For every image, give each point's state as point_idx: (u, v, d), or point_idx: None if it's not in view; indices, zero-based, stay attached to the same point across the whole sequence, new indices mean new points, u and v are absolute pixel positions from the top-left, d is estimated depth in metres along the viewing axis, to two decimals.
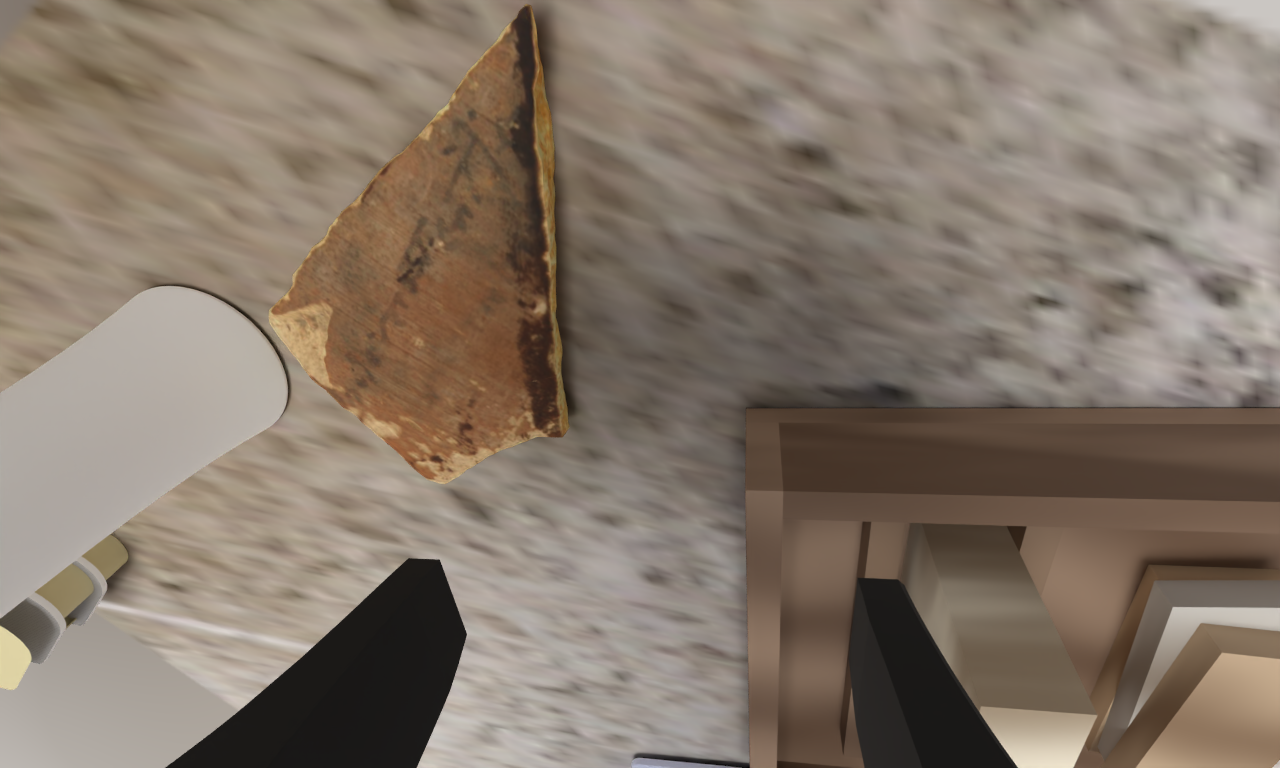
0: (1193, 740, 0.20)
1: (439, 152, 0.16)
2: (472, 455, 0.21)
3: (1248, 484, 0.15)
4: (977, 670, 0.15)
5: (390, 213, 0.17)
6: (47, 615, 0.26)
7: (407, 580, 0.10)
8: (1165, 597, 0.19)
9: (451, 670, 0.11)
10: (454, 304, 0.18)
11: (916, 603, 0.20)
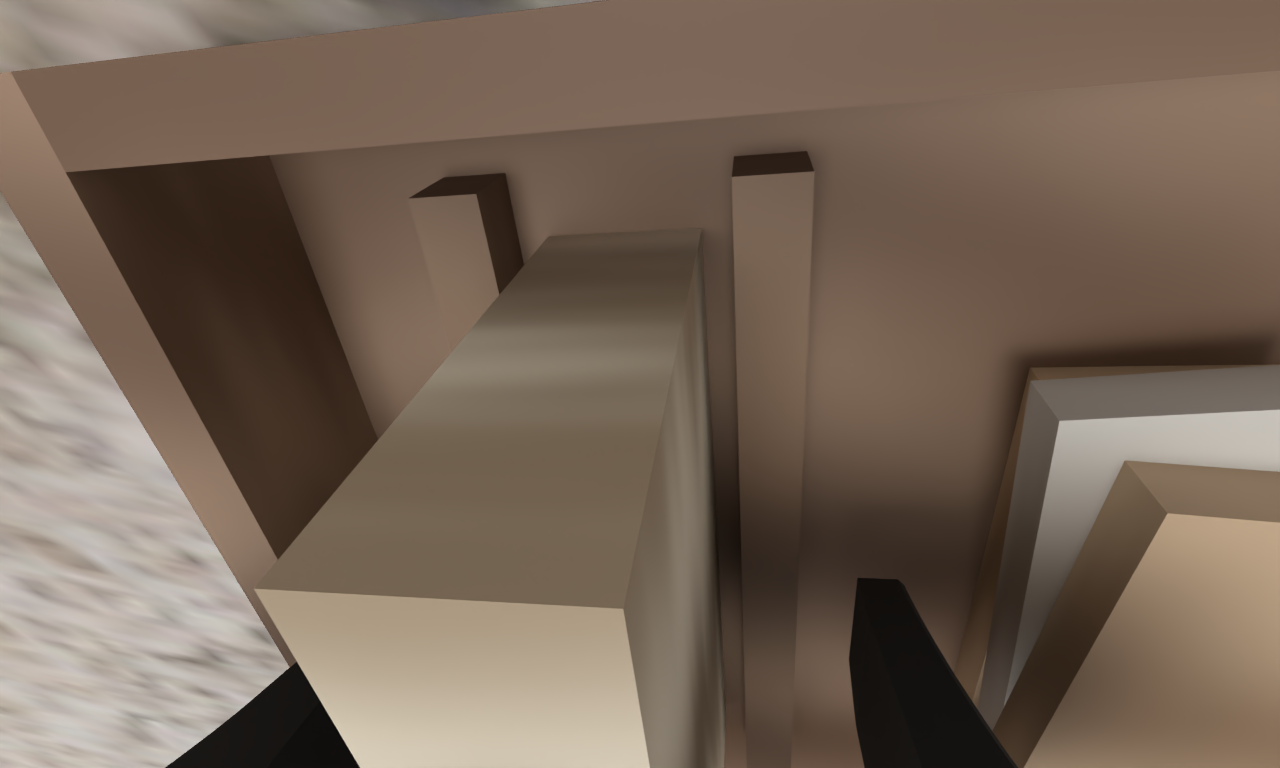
0: (1120, 729, 0.09)
1: None
2: None
3: None
4: (354, 494, 0.05)
5: None
6: None
7: None
8: (1048, 409, 0.09)
9: None
10: None
11: None
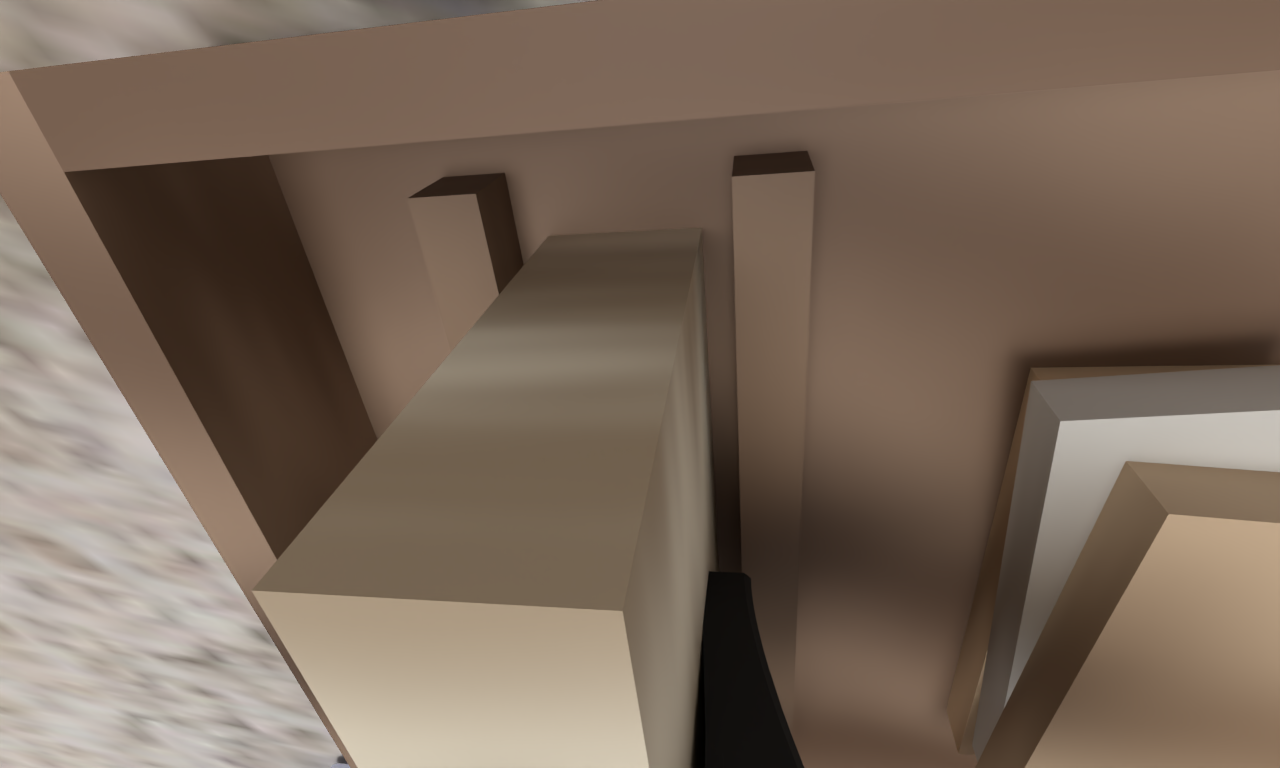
0: (1121, 729, 0.09)
1: None
2: None
3: None
4: (353, 494, 0.05)
5: None
6: None
7: None
8: (1049, 409, 0.09)
9: None
10: None
11: None
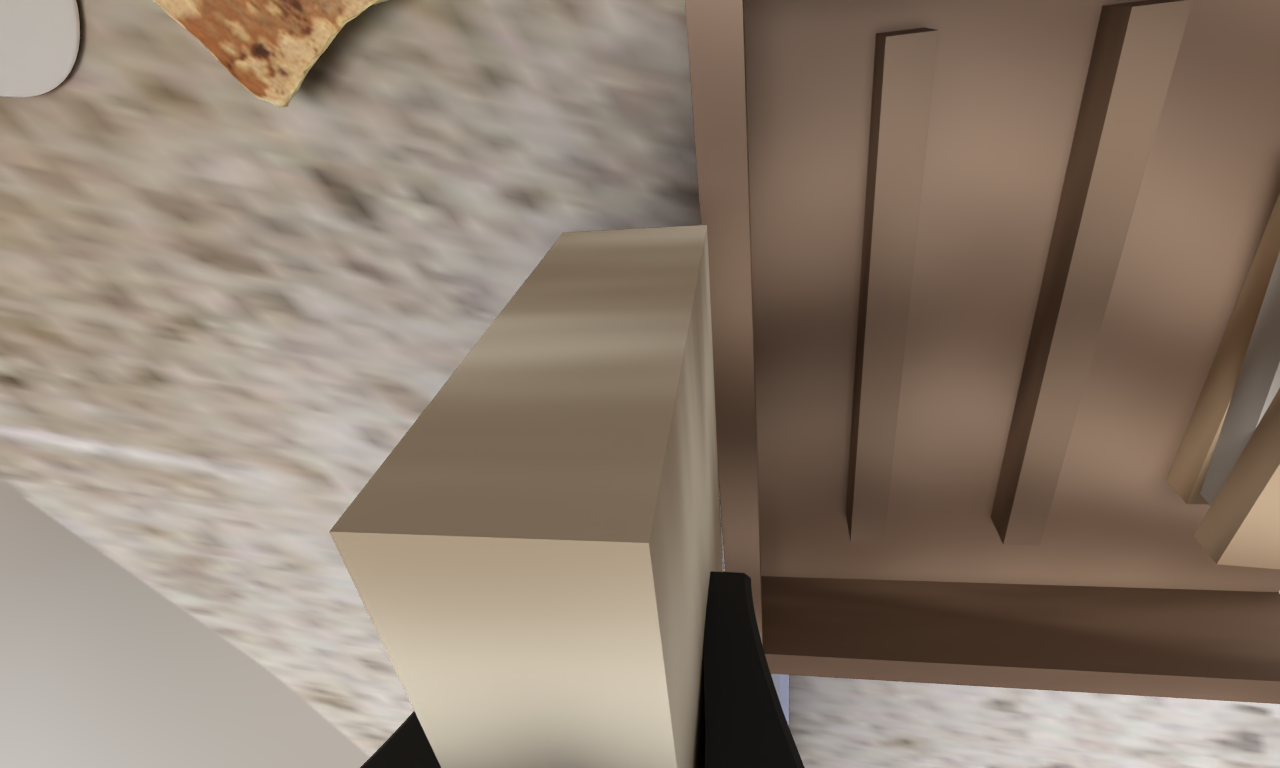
0: None
1: None
2: (307, 36, 0.15)
3: None
4: (406, 456, 0.05)
5: None
6: None
7: None
8: None
9: None
10: None
11: None
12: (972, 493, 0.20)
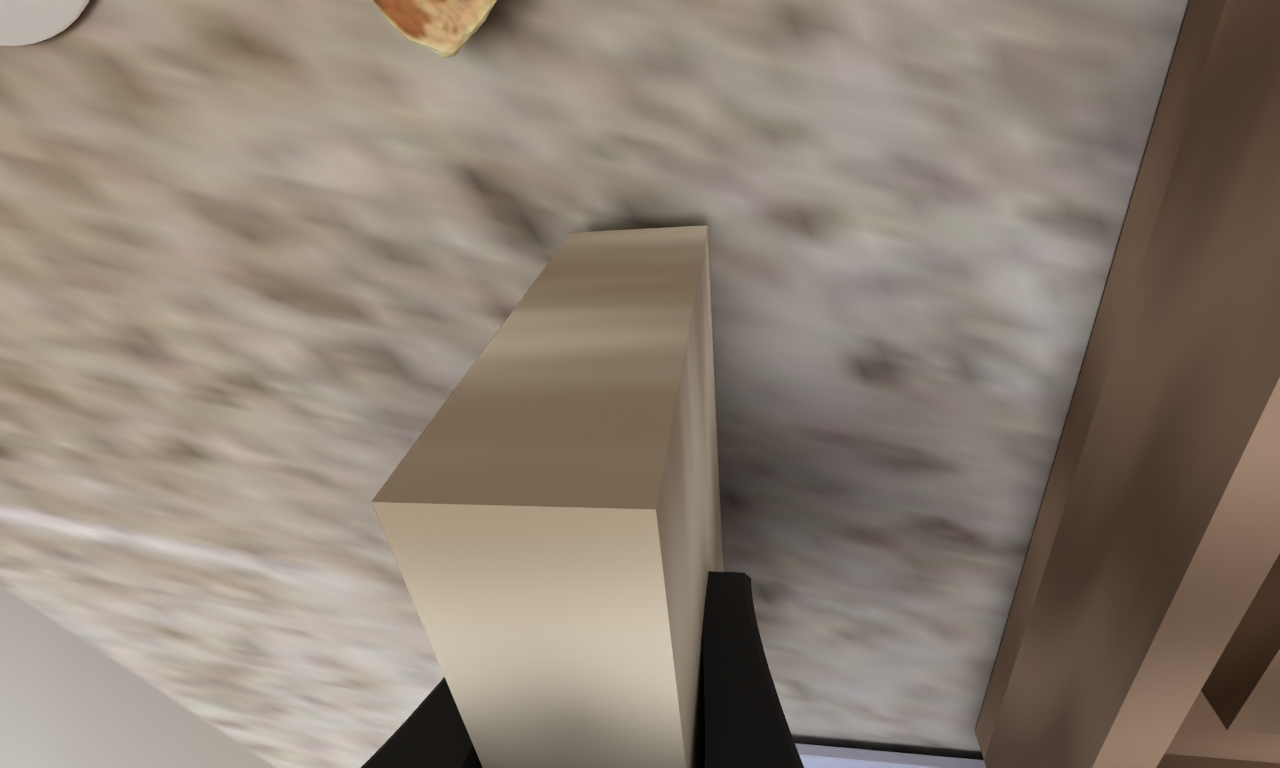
0: None
1: None
2: None
3: None
4: (436, 437, 0.06)
5: None
6: None
7: None
8: None
9: None
10: None
11: None
12: None
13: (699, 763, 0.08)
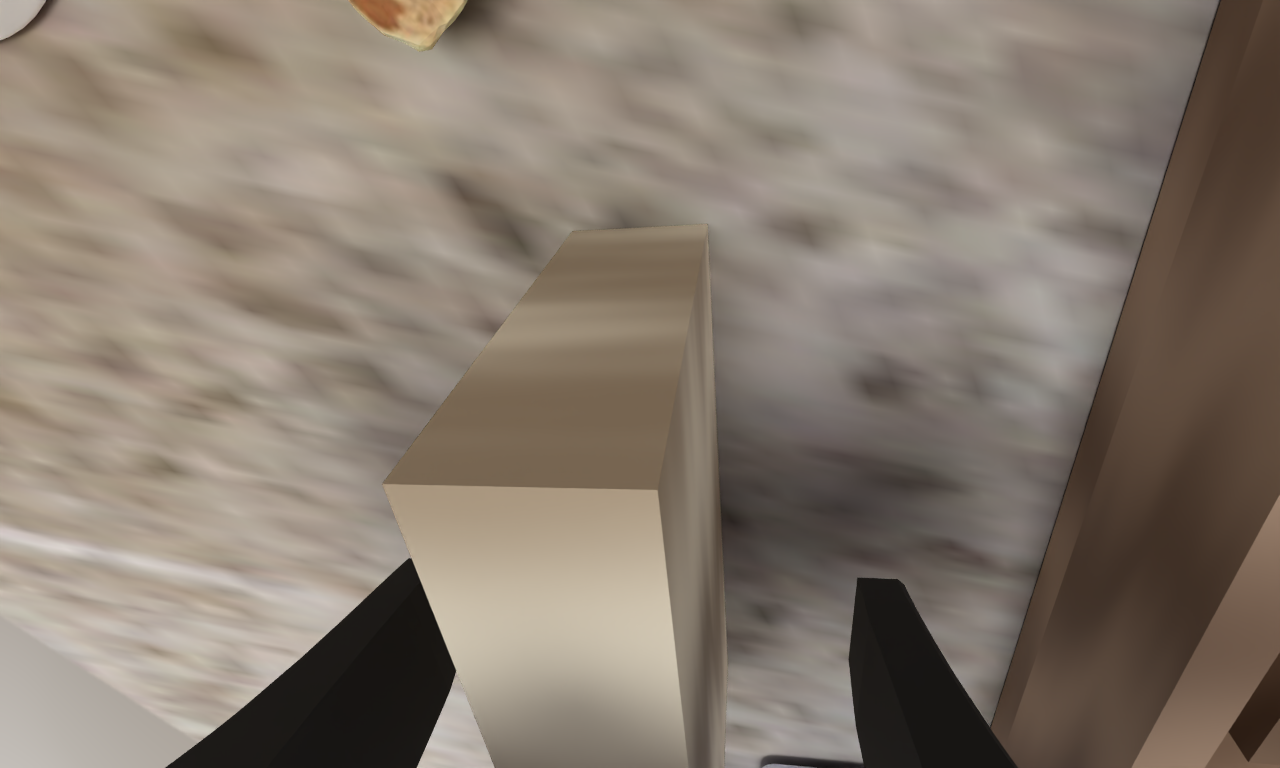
0: None
1: None
2: None
3: None
4: (443, 422, 0.06)
5: None
6: None
7: (407, 580, 0.10)
8: None
9: (451, 670, 0.11)
10: None
11: None
12: None
13: (699, 748, 0.08)
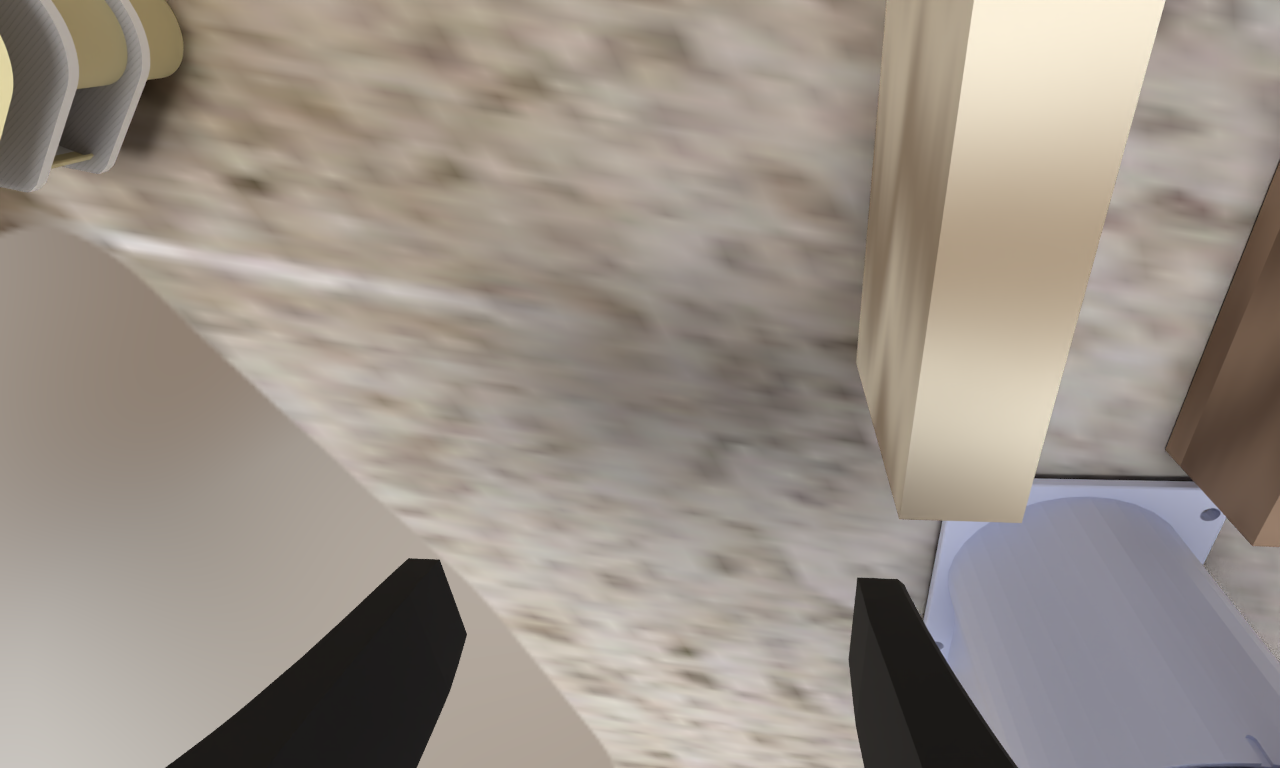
0: None
1: None
2: None
3: None
4: None
5: None
6: (44, 28, 0.14)
7: (407, 580, 0.10)
8: None
9: (451, 670, 0.11)
10: None
11: (900, 12, 0.13)
12: None
13: None
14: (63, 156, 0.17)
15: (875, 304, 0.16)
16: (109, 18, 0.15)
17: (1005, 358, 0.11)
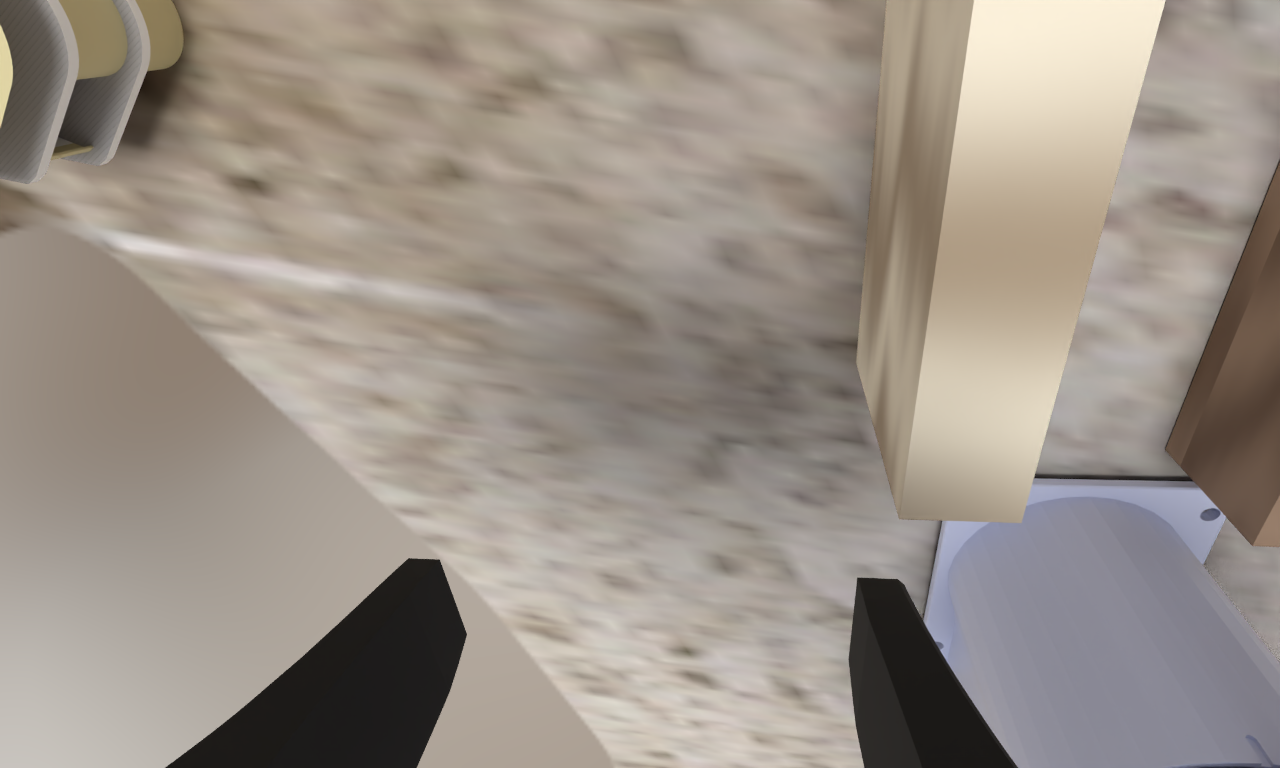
0: None
1: None
2: None
3: None
4: None
5: None
6: (44, 17, 0.14)
7: (407, 580, 0.10)
8: None
9: (451, 670, 0.11)
10: None
11: (900, 12, 0.13)
12: None
13: None
14: (62, 148, 0.17)
15: (875, 304, 0.16)
16: (109, 8, 0.15)
17: (1005, 358, 0.11)
